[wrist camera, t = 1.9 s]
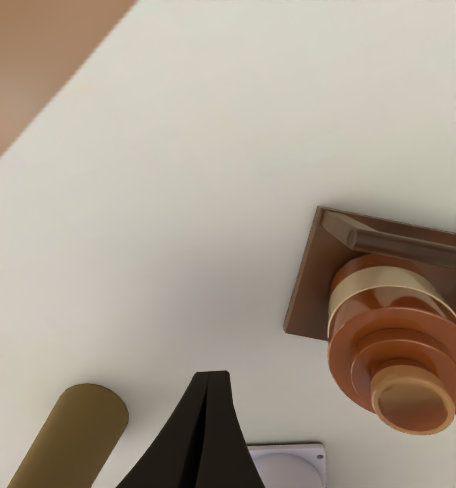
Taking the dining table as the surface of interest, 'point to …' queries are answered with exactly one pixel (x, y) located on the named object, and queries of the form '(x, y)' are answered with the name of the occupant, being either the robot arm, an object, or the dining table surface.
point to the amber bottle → (393, 343)
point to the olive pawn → (74, 440)
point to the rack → (359, 244)
